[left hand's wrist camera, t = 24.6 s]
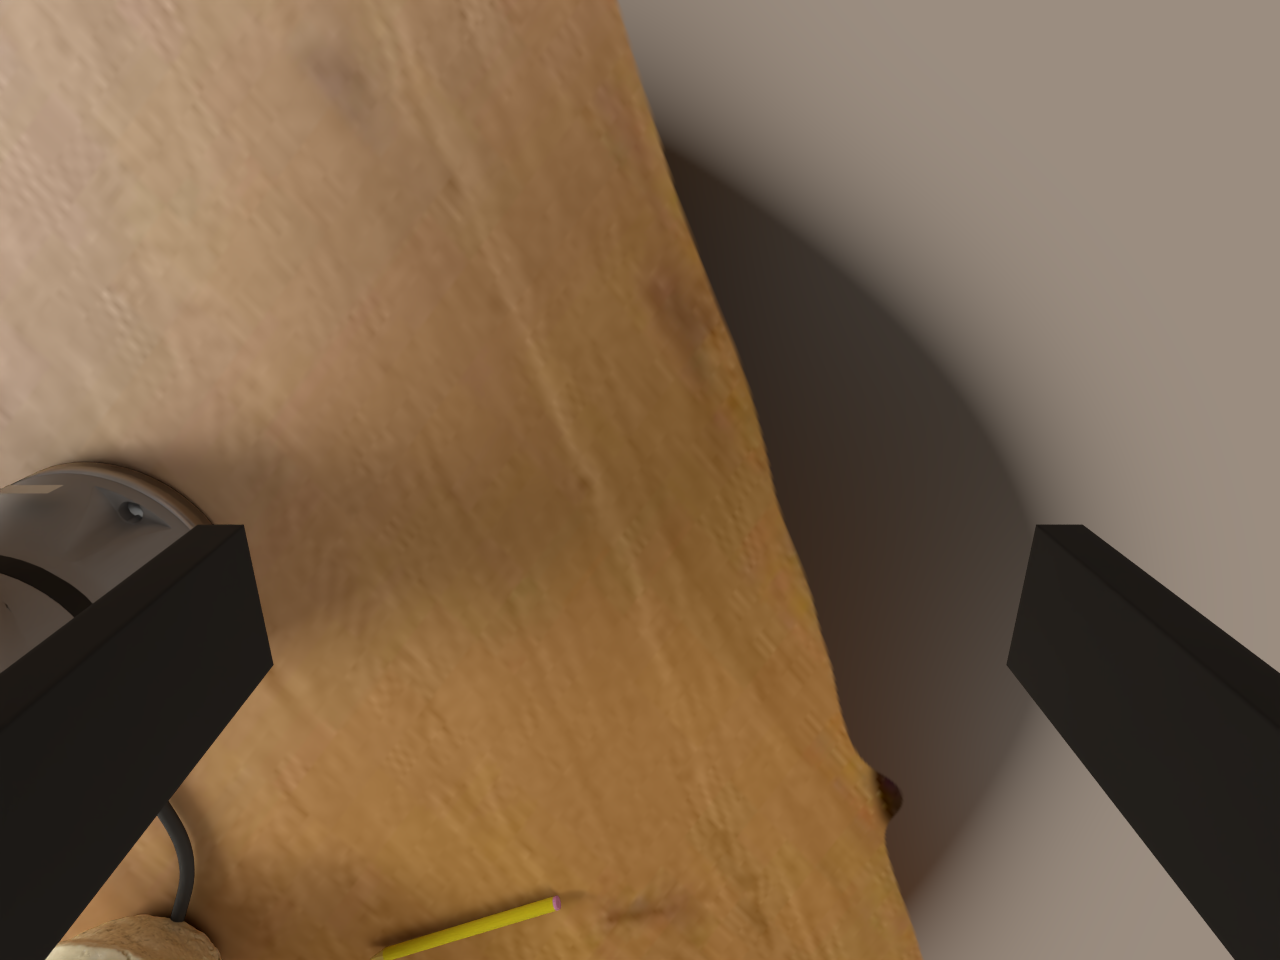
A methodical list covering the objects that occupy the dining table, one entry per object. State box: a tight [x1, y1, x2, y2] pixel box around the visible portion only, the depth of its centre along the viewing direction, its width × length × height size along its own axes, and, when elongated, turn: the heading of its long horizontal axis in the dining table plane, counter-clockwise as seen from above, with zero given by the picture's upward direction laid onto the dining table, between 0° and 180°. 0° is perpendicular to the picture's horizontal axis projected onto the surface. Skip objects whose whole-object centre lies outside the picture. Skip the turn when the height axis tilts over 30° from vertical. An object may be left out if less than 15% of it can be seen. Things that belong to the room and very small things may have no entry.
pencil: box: [371, 896, 561, 960], centre depth 58 cm, size 16×1×1 cm, turn 112°
